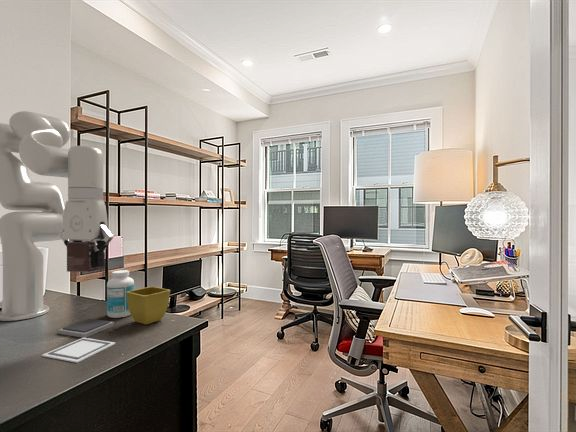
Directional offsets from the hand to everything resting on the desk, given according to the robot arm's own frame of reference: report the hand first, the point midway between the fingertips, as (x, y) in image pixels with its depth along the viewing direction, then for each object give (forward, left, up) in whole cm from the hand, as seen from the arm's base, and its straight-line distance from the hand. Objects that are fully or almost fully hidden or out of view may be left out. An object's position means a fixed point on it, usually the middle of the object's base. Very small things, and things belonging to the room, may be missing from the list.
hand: (86, 265), depth 79 cm
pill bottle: (-5, +16, -18) cm, 25 cm away
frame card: (+5, -6, -18) cm, 20 cm away
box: (0, 0, -1) cm, 1 cm away
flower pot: (+7, +14, -18) cm, 24 cm away
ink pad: (-4, +4, -18) cm, 19 cm away
